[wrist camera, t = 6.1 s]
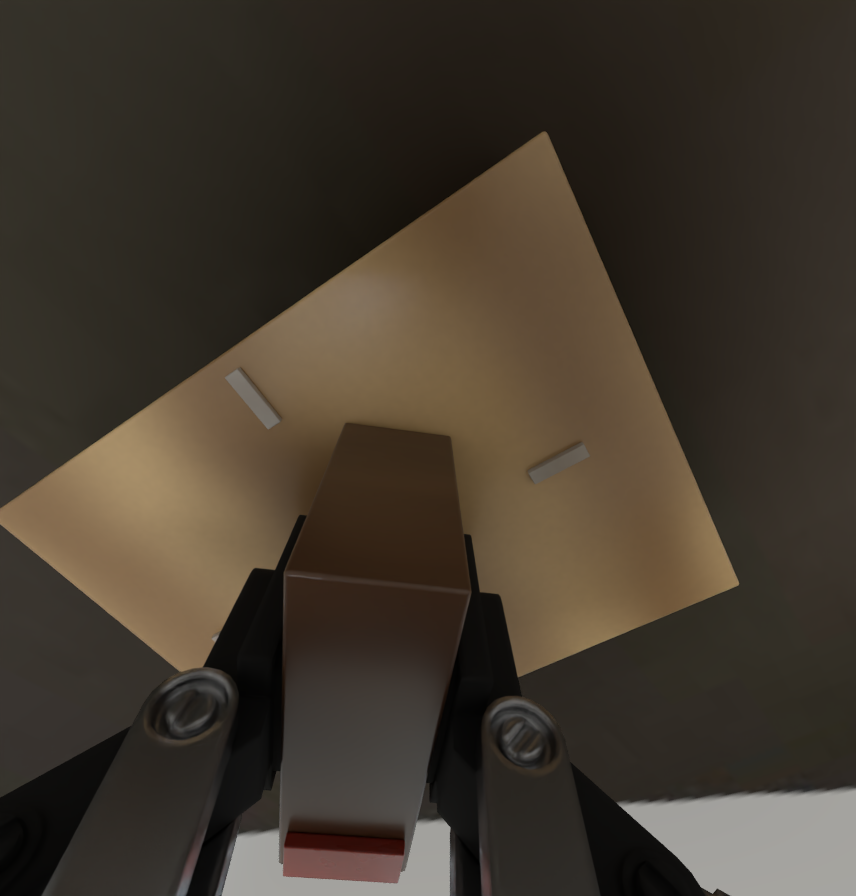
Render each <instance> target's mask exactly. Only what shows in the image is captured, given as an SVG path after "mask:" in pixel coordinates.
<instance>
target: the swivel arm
mask: <svg viewBox="0 0 856 896" xmlns="http://www.w3.org/2000/svg"><path fill="white" fill-rule="evenodd" d="M470 597H471V585H470V578H469V570H468V563H467V555H466V547H465V540H464V532H463V525H462V517H461V509H460V502H459V494H458V487H457V479H456V471H455V464H454V456H453V449H452V441H451V437H450V436H445V435H437V434H430V433H422V432H414V431H407V430H399V429H391V428H384V427H376V426H368V425H361V424H353V423H345V424H344V426H343V429H342V431H341V434H340V436H339V438H338V441H337V443H336V446H335V448H334V451H333V453H332V456H331V458H330V461H329V463H328V465H327V468H326V470H325V473H324V475H323V478H322V480H321V483H320V485H319V487H318V490H317V492H316V495H315V497H314V500H313V502H312V505H311V507H310V510H309V512H308V514H307V517H306V519H305V522H304V524H303V527H302V529H301V532H300V534H299V536H298V539H297V541H296V544H295V546H294V549H293V551H292V554H291V556H290V559H289V561H288V563H287V566H286V568H285V571H284V585H283V645H282V704H281V764H280V823H279V863H281V864H283V876H288V877H304V878H320V879H336V880H352V881H368V882H384V883H398V880H399V876H400V872H402V871H405V868H406V865H407V860H408V856H409V852H410V848H411V844H412V840H413V835H414V831H415V827H416V823H417V819H418V814H419V810H420V806H421V802H422V798H423V794H424V789H425V785H426V781H427V777H428V773H429V768H430V764H431V760H432V756H433V752H434V747H435V743H436V739H437V735H438V731H439V727H440V722H441V718H442V714H443V710H444V706H445V701H446V697H447V693H448V689H449V685H450V681H451V676H452V672H453V668H454V664H455V660H456V655H457V651H458V647H459V643H460V639H461V635H462V630H463V626H464V622H465V618H466V614H467V609H468V605H469V601H470Z"/></svg>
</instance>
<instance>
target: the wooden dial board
mask: <svg viewBox="0 0 856 896" xmlns="http://www.w3.org/2000/svg"><path fill="white" fill-rule="evenodd" d="M345 423H353V424H361V425H368V426H376V427H384V428H391V429H399V430H407V431H414V432H422V433H430V434H437V435H445V436H450V437H451V441H452V449H453V456H454V464H455V471H456V479H457V487H458V494H459V502H460V509H461V517H462V525H463V532H464V534H470V535H471V537H472V543H473V550H474V556H475V563H476V569H477V576H478V582H479V589H480V592H485V593H494V594H499V595H500V597H501V600H502V604H503V609H504V614H505V618H506V623H507V628H508V633H509V638H510V642H511V647H512V652H513V657H514V661H515V666H516V671H517V676H518V677H520V676H522V675H525V674H527V673H530V672H532V671H534V670H537V669H539V668H542V667H544V666H546V665H549V664H551V663H553V662H556V661H558V660H561V659H563V658H565V657H568V656H570V655H573V654H575V653H577V652H580V651H582V650H585V649H587V648H589V647H592V646H594V645H597V644H599V643H601V642H604V641H606V640H609V639H611V638H613V637H616V636H618V635H621V634H623V633H625V632H628V631H630V630H633V629H635V628H637V627H640V626H642V625H645V624H647V623H649V622H652V621H654V620H657V619H659V618H661V617H664V616H666V615H669V614H671V613H673V612H676V611H678V610H681V609H683V608H685V607H688V606H690V605H692V604H695V603H697V602H700V601H702V600H704V599H707V598H709V597H712V596H714V595H716V594H719V593H721V592H724V591H726V590H728V589H731V588H733V587H736V586H738V585H739V582H738V579H737V577H736V575H735V572H734V570H733V567H732V565H731V563H730V560H729V558H728V556H727V553H726V551H725V549H724V546H723V544H722V542H721V539H720V537H719V535H718V532H717V530H716V528H715V525H714V523H713V521H712V518H711V516H710V513H709V511H708V509H707V506H706V504H705V502H704V499H703V497H702V495H701V492H700V490H699V488H698V485H697V483H696V481H695V478H694V476H693V474H692V471H691V469H690V467H689V464H688V462H687V459H686V457H685V455H684V452H683V450H682V448H681V445H680V443H679V441H678V438H677V436H676V434H675V431H674V429H673V427H672V424H671V422H670V420H669V417H668V415H667V413H666V410H665V408H664V406H663V403H662V401H661V398H660V396H659V394H658V391H657V389H656V387H655V384H654V382H653V380H652V377H651V375H650V373H649V370H648V368H647V366H646V363H645V361H644V359H643V356H642V354H641V352H640V349H639V347H638V344H637V342H636V340H635V337H634V335H633V333H632V330H631V328H630V326H629V323H628V321H627V319H626V316H625V314H624V312H623V309H622V307H621V305H620V302H619V300H618V298H617V295H616V293H615V291H614V288H613V286H612V283H611V281H610V279H609V276H608V274H607V272H606V269H605V267H604V265H603V262H602V260H601V258H600V255H599V253H598V251H597V248H596V246H595V244H594V241H593V239H592V237H591V234H590V232H589V229H588V227H587V225H586V222H585V220H584V218H583V215H582V213H581V211H580V208H579V206H578V204H577V201H576V199H575V197H574V194H573V192H572V190H571V187H570V185H569V183H568V180H567V178H566V175H565V173H564V171H563V168H562V166H561V164H560V161H559V159H558V157H557V154H556V152H555V150H554V147H553V145H552V143H551V140H550V138H549V136H548V133H546V132H545V131H544V132H541V133H540V134H538V135H537V136H535V137H534V138H533V139H531V140H530V141H528V142H527V143H525V144H524V145H522V146H521V147H520V148H518V149H517V150H515V151H514V152H512V153H511V154H510V155H508V156H507V157H505V158H504V159H502V160H501V161H499V162H498V163H497V164H495V165H494V166H492V167H491V168H489V169H488V170H487V171H485V172H484V173H482V174H481V175H479V176H478V177H476V178H475V179H474V180H472V181H471V182H469V183H468V184H466V185H465V186H463V187H462V188H461V189H459V190H458V191H456V192H455V193H453V194H452V195H451V196H449V197H448V198H446V199H445V200H443V201H442V202H440V203H439V204H438V205H436V206H435V207H433V208H432V209H430V210H429V211H427V212H426V213H425V214H423V215H422V216H420V217H419V218H417V219H416V220H415V221H413V222H412V223H410V224H409V225H407V226H406V227H404V228H403V229H402V230H400V231H399V232H397V233H396V234H394V235H393V236H392V237H390V238H389V239H387V240H386V241H384V242H383V243H381V244H380V245H379V246H377V247H376V248H374V249H373V250H371V251H370V252H368V253H367V254H366V255H364V256H363V257H361V258H360V259H358V260H357V261H356V262H354V263H353V264H351V265H350V266H348V267H347V268H345V269H344V270H343V271H341V272H340V273H338V274H337V275H335V276H334V277H333V278H331V279H330V280H328V281H327V282H325V283H324V284H322V285H321V286H320V287H318V288H317V289H315V290H314V291H312V292H311V293H309V294H308V295H307V296H305V297H304V298H302V299H301V300H299V301H298V302H297V303H295V304H294V305H292V306H291V307H289V308H288V309H286V310H285V311H284V312H282V313H281V314H279V315H278V316H276V317H275V318H273V319H272V320H271V321H269V322H268V323H266V324H265V325H263V326H262V327H261V328H259V329H258V330H256V331H255V332H253V333H252V334H250V335H249V336H248V337H246V338H245V339H243V340H242V341H240V342H239V343H238V344H236V345H235V346H233V347H232V348H230V349H229V350H227V351H226V352H225V353H223V354H222V355H220V356H219V357H217V358H216V359H214V360H213V361H212V362H210V363H209V364H207V365H206V366H204V367H203V368H202V369H200V370H199V371H197V372H196V373H194V374H193V375H191V376H190V377H189V378H187V379H186V380H184V381H183V382H181V383H180V384H178V385H177V386H176V387H174V388H173V389H171V390H170V391H168V392H167V393H166V394H164V395H163V396H161V397H160V398H158V399H157V400H155V401H154V402H153V403H151V404H150V405H148V406H147V407H145V408H144V409H143V410H141V411H140V412H138V413H137V414H135V415H134V416H132V417H131V418H130V419H128V420H127V421H125V422H124V423H122V424H121V425H119V426H118V427H117V428H115V429H114V430H112V431H111V432H109V433H108V434H107V435H105V436H104V437H102V438H101V439H99V440H98V441H96V442H95V443H94V444H92V445H91V446H89V447H88V448H86V449H85V450H83V451H82V452H81V453H79V454H78V455H76V456H75V457H73V458H72V459H71V460H69V461H68V462H66V463H65V464H63V465H62V466H60V467H59V468H58V469H56V470H55V471H53V472H52V473H50V474H49V475H48V476H46V477H45V478H43V479H42V480H40V481H39V482H37V483H36V484H35V485H33V486H32V487H30V488H29V489H27V490H26V491H24V492H23V493H22V494H20V495H19V496H17V497H16V498H14V499H13V500H12V501H10V502H9V503H7V504H6V505H4V506H3V507H1V508H0V524H1V525H2V526H3V527H4V528H5V529H7V530H8V531H9V532H10V533H12V534H13V535H14V536H15V537H16V538H18V539H19V540H20V541H21V542H23V543H24V544H25V545H26V546H27V547H29V548H30V549H31V550H32V551H34V552H35V553H36V554H37V555H38V556H40V557H41V558H42V559H43V560H45V561H46V562H47V563H48V564H49V565H51V566H52V567H53V568H54V569H56V570H57V571H58V572H59V573H60V574H62V575H63V576H64V577H65V578H66V579H68V580H69V581H70V582H71V583H73V584H74V585H75V586H76V587H77V588H79V589H80V590H81V591H82V592H84V593H85V594H86V595H87V596H88V597H90V598H91V599H92V600H93V601H95V602H96V603H97V604H98V605H99V606H101V607H102V608H103V609H104V610H106V611H107V612H108V613H109V614H110V615H112V616H113V617H114V618H115V619H117V620H118V621H119V622H120V623H121V624H123V625H124V626H125V627H126V628H128V629H129V630H130V631H131V632H132V633H134V634H135V635H136V636H137V637H138V638H140V639H141V640H142V641H143V642H145V643H146V644H147V645H148V646H149V647H151V648H152V649H153V650H154V651H156V652H157V653H158V654H159V655H160V656H162V657H163V658H164V659H165V660H167V661H168V662H169V663H170V664H171V665H173V666H174V667H175V668H176V669H178V670H179V671H180V672H183V671H186V670H189V669H192V668H203V666H204V664H205V662H206V660H207V658H208V656H209V654H210V652H211V650H212V648H213V646H214V644H215V642H216V640H217V638H218V636H219V634H220V632H221V630H222V628H223V626H224V624H225V622H226V620H227V618H228V616H229V614H230V612H231V610H232V608H233V606H234V604H235V602H236V600H237V598H238V596H239V594H240V592H241V590H242V588H243V586H244V584H245V582H246V580H247V579H248V577H249V575H250V573H251V571H252V570H253V569H254V568H262V569H272V570H275V569H276V566H277V564H278V562H279V560H280V557H281V555H282V553H283V550H284V548H285V546H286V544H287V541H288V539H289V537H290V534H291V532H292V530H293V528H294V525H295V523H296V521H297V518H298V516H299V515H307V514H308V512H309V510H310V507H311V505H312V502H313V500H314V497H315V495H316V492H317V490H318V487H319V485H320V483H321V480H322V478H323V475H324V473H325V470H326V468H327V465H328V463H329V461H330V458H331V456H332V453H333V451H334V448H335V446H336V443H337V441H338V438H339V436H340V434H341V431H342V429H343V426H344V424H345Z"/></svg>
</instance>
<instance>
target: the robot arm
mask: <svg viewBox="0 0 856 896" xmlns="http://www.w3.org/2000/svg"><path fill="white" fill-rule="evenodd" d="M306 517H307V515H299V516H298V518H297V521H296V523H295V525H294V528H293V530H292V532H291V534H290V537H289V539H288V541H287V544H286V546H285V548H284V550H283V553H282V555H281V557H280V560H279V562H278V564H277V566H276V569H275V570H272V569H262V568H254V569H253V570H252V571H251V573H250V575H249V577H248V579H247V580H246V582H245V584H244V586H243V588H242V590H241V592H240V594H239V596H238V598H237V600H236V602H235V604H234V606H233V608H232V610H231V612H230V614H229V616H228V618H227V620H226V622H225V624H224V626H223V628H222V630H221V632H220V634H219V636H218V638H217V640H216V642H215V644H214V646H213V648H212V650H211V652H210V654H209V656H208V658H207V660H206V662H205V664H204V666H203V668H192V669H189V670H186V671H183V672H179V673H177V674H175V675H174V676H172V677H170V678H168V679H166V680H165V681H163V682H162V683H161V684H160V685H159V686H158V687H156V688H155V689H154V690H153V691H152V692H151V694H150V695H149V696H148V698H147V699H146V701H145V702H144V703H143V705H142V707H141V709H140V711H139V713H138V715H137V716H136V718H135V720H134V722H133V724H132V726H130V727H128V728H126V729H125V730H123V731H121V732H119V733H117V734H116V735H114V736H112V737H110V738H108V739H106V740H105V741H103V742H101V743H99V744H97V745H96V746H94V747H92V748H90V749H88V750H86V751H85V752H83V753H81V754H79V755H77V756H76V757H74V758H72V759H70V760H68V761H66V762H65V763H63V764H61V765H59V766H57V767H55V768H54V769H52V770H50V771H48V772H46V773H45V774H43V775H41V776H39V777H37V778H35V779H34V780H32V781H30V782H28V783H26V784H25V785H23V786H21V787H19V788H17V789H15V790H14V791H12V792H10V793H8V794H6V795H5V796H3V797H1V798H0V896H222V892H223V888H224V884H225V880H226V876H227V873H228V869H229V865H230V861H231V857H232V853H233V850H234V846H235V842H236V838H237V834H238V830H239V827H240V823H241V819H242V813H243V812H244V811H246V810H247V809H248V808H250V807H251V806H252V805H253V804H255V803H256V802H257V801H259V800H260V799H261V796H262V793H263V790H271V789H272V785H273V781H274V778H275V774H276V771H280V764H281V704H282V645H283V585H284V571H285V568H286V566H287V563H288V561H289V559H290V556H291V554H292V551H293V549H294V546H295V544H296V541H297V539H298V536H299V534H300V532H301V529H302V527H303V524H304V522H305V519H306ZM464 540H465V547H466V555H467V563H468V570H469V578H470V585H471V597H470V601H469V605H468V609H467V614H466V618H465V622H464V626H463V630H462V635H461V639H460V643H459V647H458V651H457V655H456V660H455V664H454V668H453V672H452V676H451V681H450V685H449V689H448V693H447V697H446V701H445V706H444V710H443V714H442V718H441V722H440V727H439V731H438V735H437V739H436V743H435V747H434V752H433V756H432V760H431V764H430V768H429V773H428V777H427V781H426V783H430V802H432V803H437V812H438V813H439V814H440V815H441V817H442V818H443V819H444V820H445V821H446V823H447V824H448V825H449V826H450V827H451V831H450V896H730V895H728V894H726V893H724V892H722V891H721V890H719V889H717V890H716V891H715V892H714V893H713V894H712V893H710V892H708V891H706V890H704V889H703V888H701V887H700V885H699V884H698V882H697V881H696V879H695V878H694V876H693V875H692V873H691V872H690V871H689V870H688V869H687V868H686V867H685V866H684V864H683V863H682V862H681V861H680V860H679V859H678V858H677V857H676V856H675V855H674V854H673V853H672V852H670V851H669V850H668V849H667V848H666V847H665V846H664V845H663V844H661V843H660V842H659V841H658V840H657V839H656V838H655V837H653V836H652V835H651V834H650V833H649V832H648V831H647V830H646V829H645V828H643V827H642V826H641V825H640V824H639V823H638V822H637V821H636V820H634V819H633V818H632V817H631V816H630V815H629V814H628V813H627V812H626V811H624V810H623V809H622V808H621V807H620V806H619V805H618V804H617V803H616V802H614V801H613V800H612V799H611V798H610V797H609V796H608V795H607V794H605V793H604V792H603V791H602V790H601V789H600V788H599V787H598V786H596V785H595V784H594V783H593V782H592V781H591V780H590V779H589V778H588V777H586V776H585V775H584V774H583V773H582V772H581V771H580V770H579V769H577V768H576V767H575V766H574V765H573V764H572V763H571V762H570V759H569V754H568V750H567V746H566V741H565V738H564V735H563V733H562V730H561V727H560V726H559V725H558V723H557V722H556V720H555V719H554V717H553V716H552V715H551V714H550V713H549V712H548V711H547V710H546V709H545V708H543V707H542V706H541V705H539V704H537V703H536V702H534V701H532V700H530V699H527V698H523V697H522V695H521V690H520V685H519V681H518V676H517V671H516V666H515V661H514V657H513V652H512V647H511V642H510V638H509V633H508V628H507V623H506V618H505V614H504V609H503V604H502V600H501V597H500V595H499V594H494V593H485V592H480V589H479V582H478V576H477V569H476V563H475V556H474V550H473V543H472V537H471V535H470V534H464Z"/></svg>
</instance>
